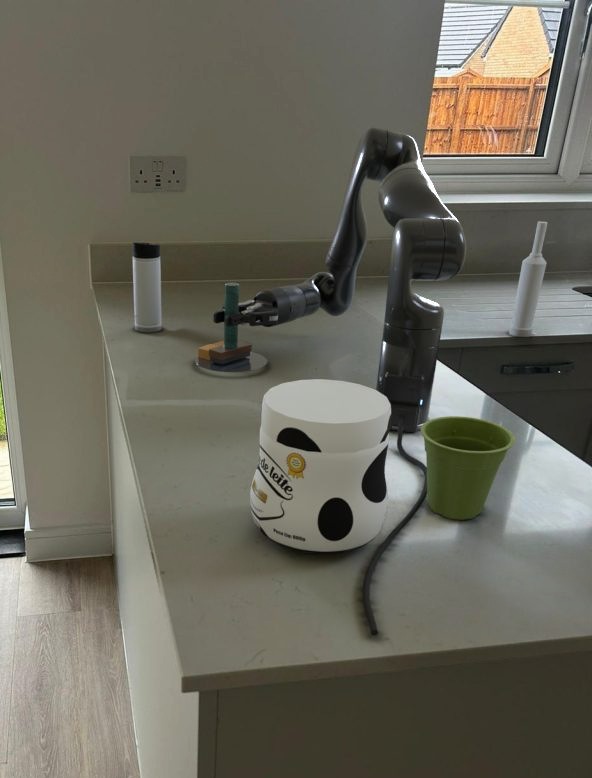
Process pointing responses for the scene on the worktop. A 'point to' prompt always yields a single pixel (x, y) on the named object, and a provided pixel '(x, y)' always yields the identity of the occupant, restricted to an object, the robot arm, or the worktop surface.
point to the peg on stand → (230, 331)
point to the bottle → (529, 287)
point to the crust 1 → (205, 351)
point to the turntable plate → (234, 364)
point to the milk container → (321, 465)
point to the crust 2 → (219, 343)
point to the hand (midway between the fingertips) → (220, 319)
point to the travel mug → (147, 287)
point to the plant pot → (462, 463)
